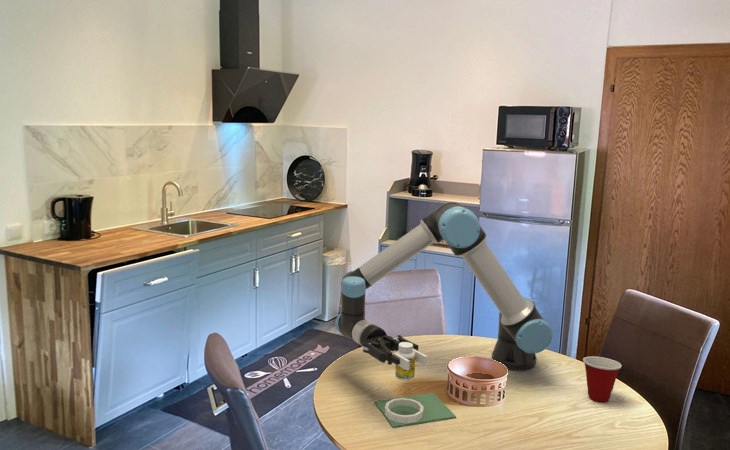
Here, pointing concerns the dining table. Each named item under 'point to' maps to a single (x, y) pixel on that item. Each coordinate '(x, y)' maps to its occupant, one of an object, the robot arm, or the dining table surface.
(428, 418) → the putting mat
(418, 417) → the segmented ring wall
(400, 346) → the supplement bottle
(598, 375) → the plastic cup
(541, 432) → the dining table surface
